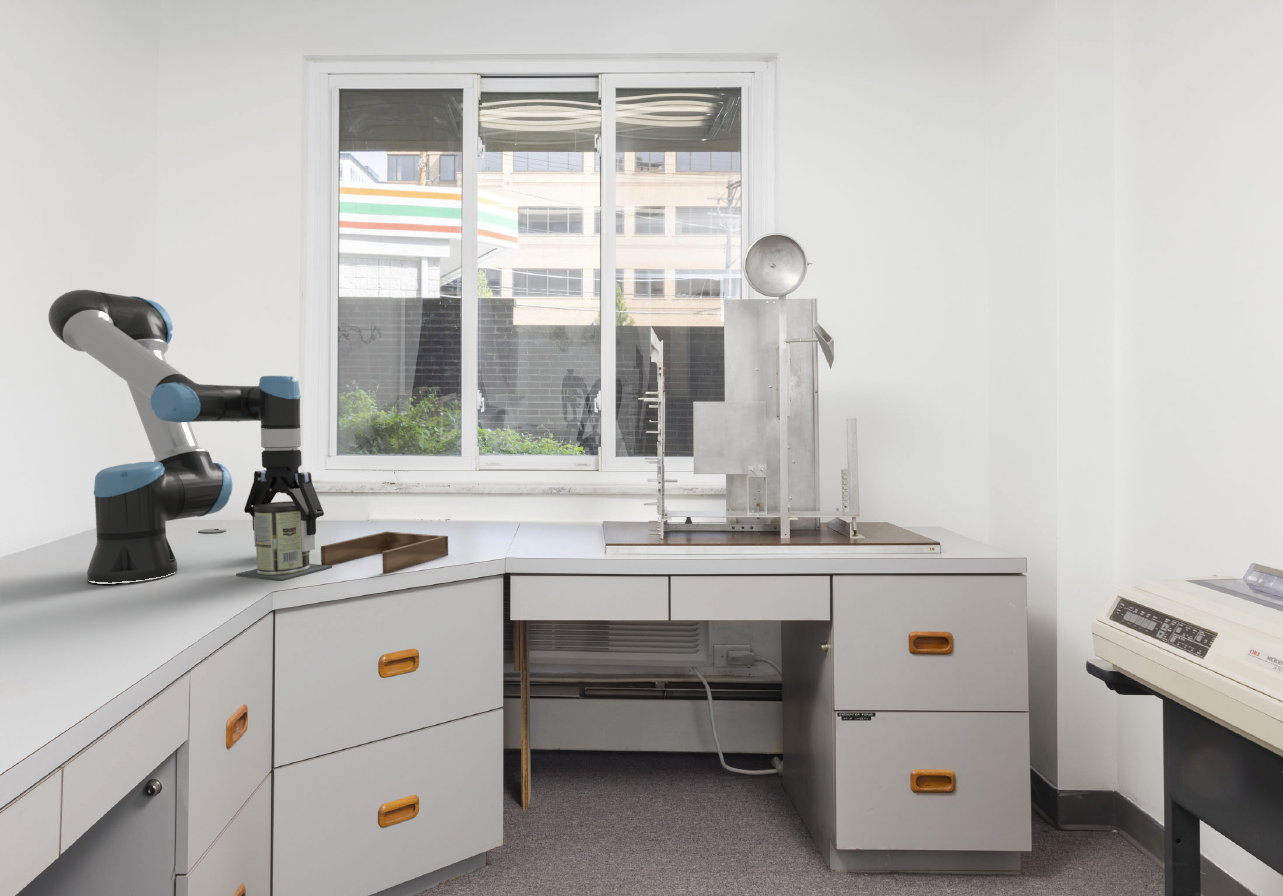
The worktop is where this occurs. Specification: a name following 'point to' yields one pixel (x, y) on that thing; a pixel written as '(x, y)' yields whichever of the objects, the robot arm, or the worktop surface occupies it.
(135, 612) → the worktop surface
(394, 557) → the frame
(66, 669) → the worktop surface
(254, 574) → the slate mat
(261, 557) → the coffee can
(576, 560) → the worktop surface
